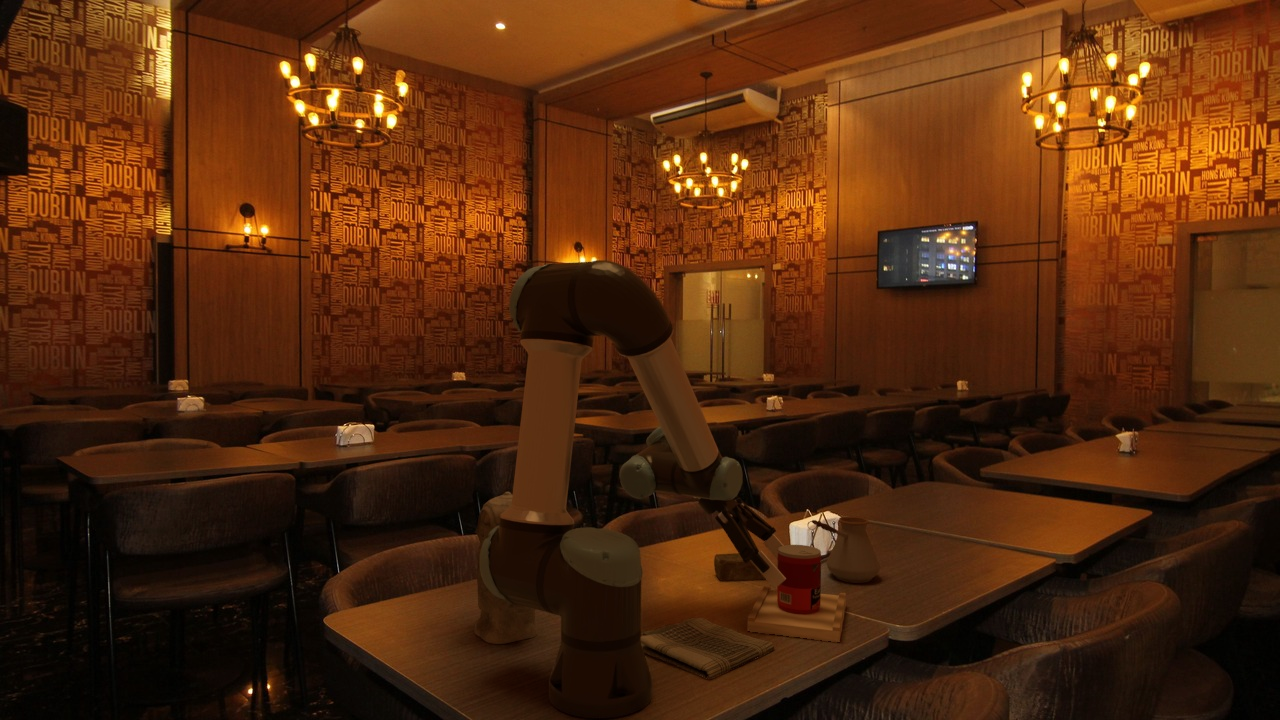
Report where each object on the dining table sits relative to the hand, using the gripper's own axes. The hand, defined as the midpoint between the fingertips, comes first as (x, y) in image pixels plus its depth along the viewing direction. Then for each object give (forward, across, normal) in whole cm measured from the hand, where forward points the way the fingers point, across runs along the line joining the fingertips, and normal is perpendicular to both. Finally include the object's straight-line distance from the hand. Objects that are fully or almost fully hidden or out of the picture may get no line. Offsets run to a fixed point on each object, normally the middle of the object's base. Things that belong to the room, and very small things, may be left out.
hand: (786, 573), depth 148 cm
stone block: (-3, -22, -15) cm, 27 cm away
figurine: (-26, +25, -39) cm, 53 cm away
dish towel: (-1, +20, -14) cm, 25 cm away
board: (+8, 0, -4) cm, 9 cm away
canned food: (+6, 0, -3) cm, 7 cm away
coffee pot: (+11, -26, 0) cm, 29 cm away
